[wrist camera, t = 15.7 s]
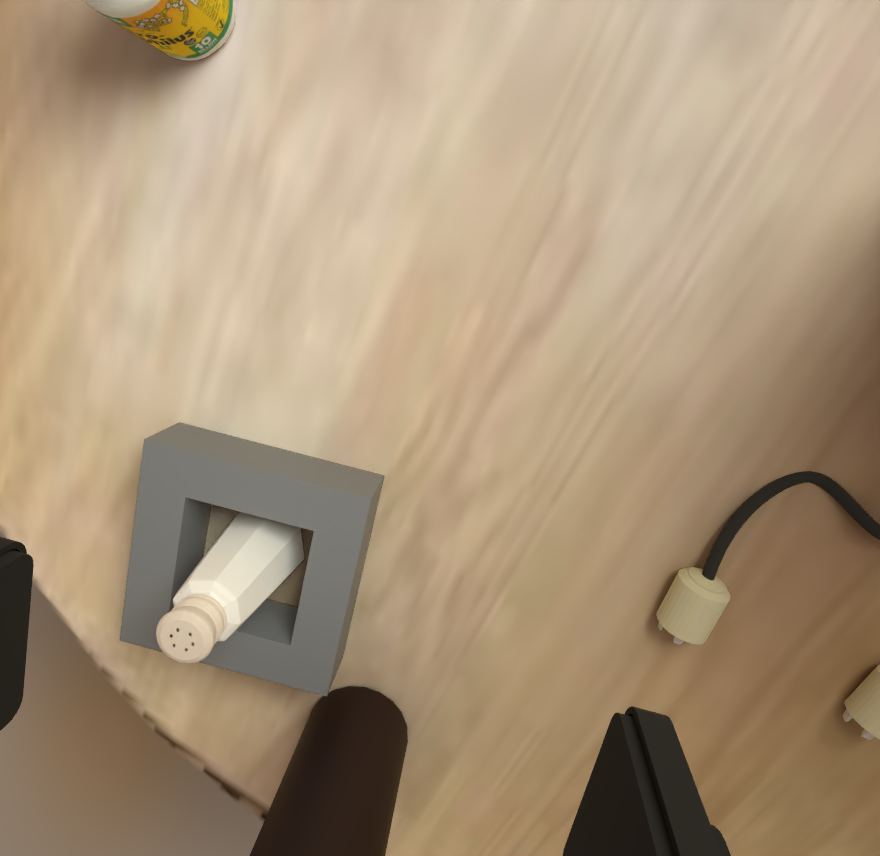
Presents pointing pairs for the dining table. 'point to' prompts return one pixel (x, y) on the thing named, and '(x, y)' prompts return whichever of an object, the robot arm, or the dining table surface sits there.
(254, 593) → the pepper shaker
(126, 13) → the supplement bottle
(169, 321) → the dining table surface
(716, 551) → the cable
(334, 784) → the dark brown water bottle
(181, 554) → the frame
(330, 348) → the dining table surface
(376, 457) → the dining table surface
